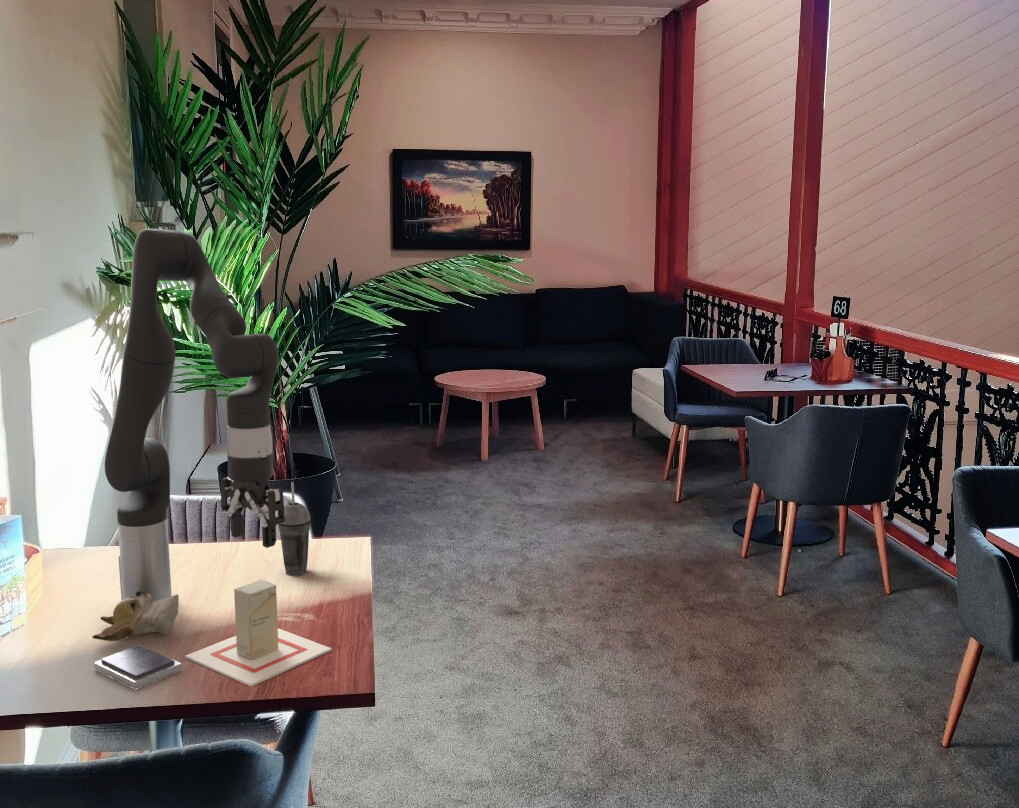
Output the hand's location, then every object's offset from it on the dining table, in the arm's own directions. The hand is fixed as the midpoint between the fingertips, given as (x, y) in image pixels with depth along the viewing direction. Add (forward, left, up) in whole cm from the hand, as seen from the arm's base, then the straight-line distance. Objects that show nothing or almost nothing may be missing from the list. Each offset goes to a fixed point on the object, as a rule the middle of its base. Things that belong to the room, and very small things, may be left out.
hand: (253, 541), depth 179 cm
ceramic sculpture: (-24, -8, -21) cm, 33 cm away
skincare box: (0, 0, -21) cm, 21 cm away
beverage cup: (-27, +32, -21) cm, 47 cm away
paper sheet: (0, 0, -21) cm, 21 cm away
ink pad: (-11, -17, -21) cm, 29 cm away
